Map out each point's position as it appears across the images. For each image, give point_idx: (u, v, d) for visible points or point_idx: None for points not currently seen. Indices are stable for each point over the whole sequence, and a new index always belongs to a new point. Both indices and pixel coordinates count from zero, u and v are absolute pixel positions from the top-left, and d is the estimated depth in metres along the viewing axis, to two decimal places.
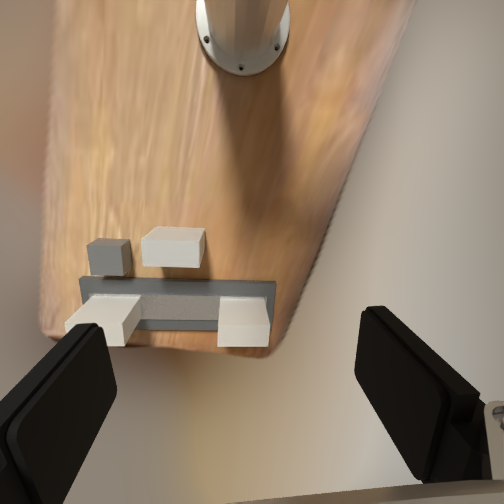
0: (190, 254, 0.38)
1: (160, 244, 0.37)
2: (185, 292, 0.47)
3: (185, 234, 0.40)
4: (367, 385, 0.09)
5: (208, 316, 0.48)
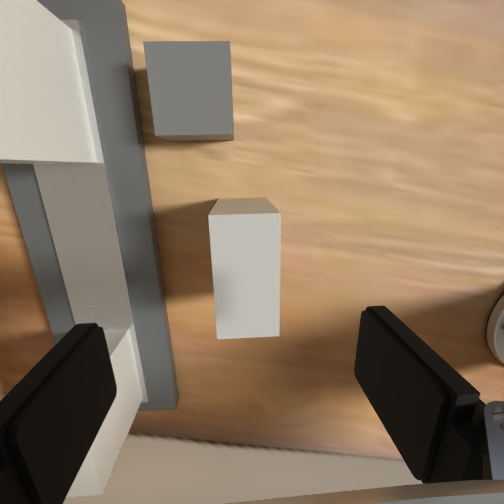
0: (247, 320, 0.16)
1: (269, 258, 0.15)
2: (129, 261, 0.22)
3: None
4: (367, 385, 0.09)
5: (80, 310, 0.23)
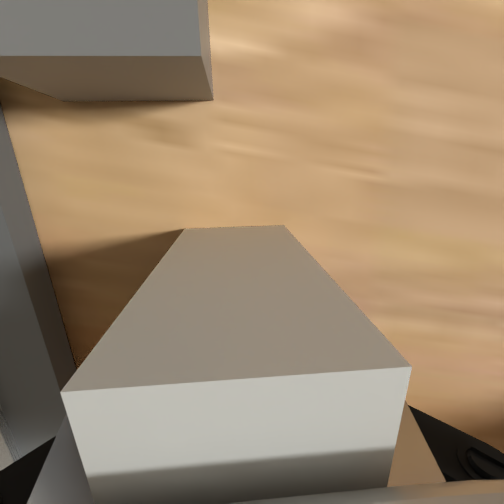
0: None
1: None
2: None
3: None
4: None
5: None
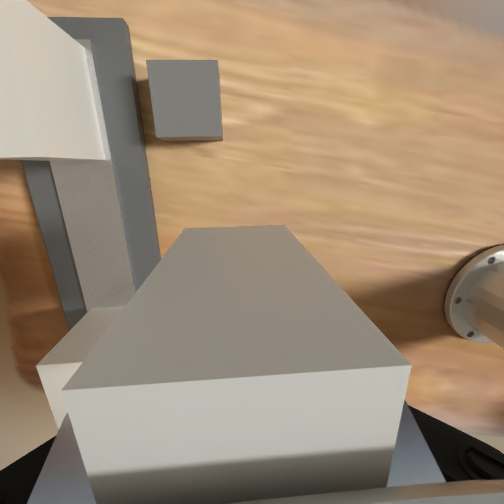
0: None
1: None
2: (132, 245, 0.25)
3: None
4: None
5: (90, 289, 0.26)
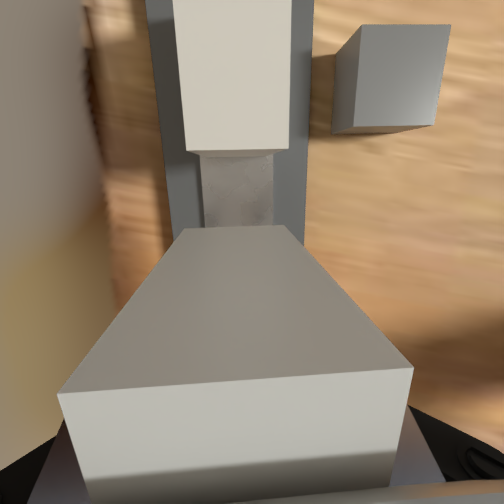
0: None
1: None
2: None
3: None
4: None
5: None
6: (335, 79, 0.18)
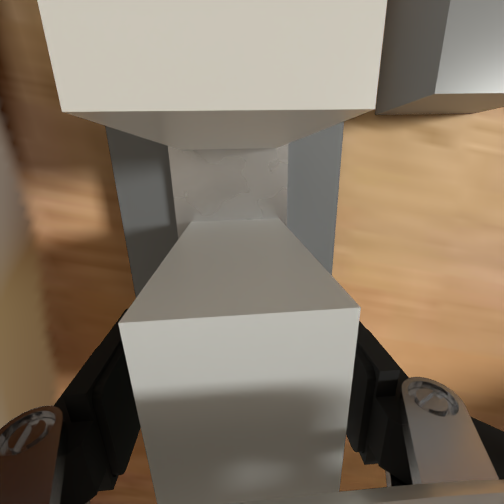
0: None
1: (315, 425, 0.05)
2: None
3: None
4: None
5: None
6: (387, 24, 0.11)
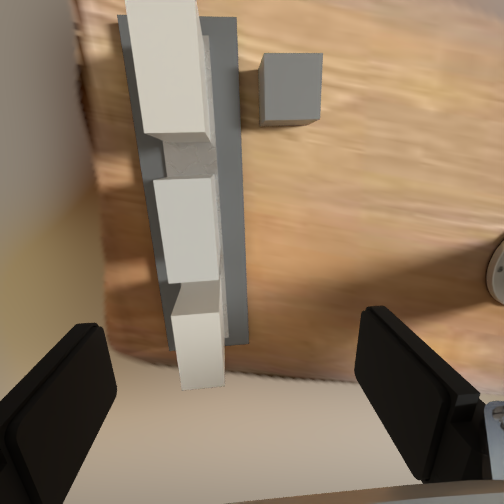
0: (191, 267, 0.21)
1: (204, 214, 0.20)
2: (224, 220, 0.28)
3: (217, 239, 0.24)
4: (367, 385, 0.09)
5: None
6: None
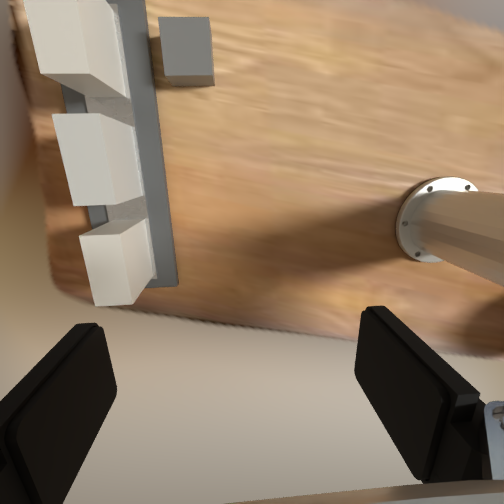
0: (91, 191, 0.25)
1: (97, 145, 0.24)
2: (145, 169, 0.33)
3: (125, 176, 0.28)
4: (367, 385, 0.09)
5: None
6: None
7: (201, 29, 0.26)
